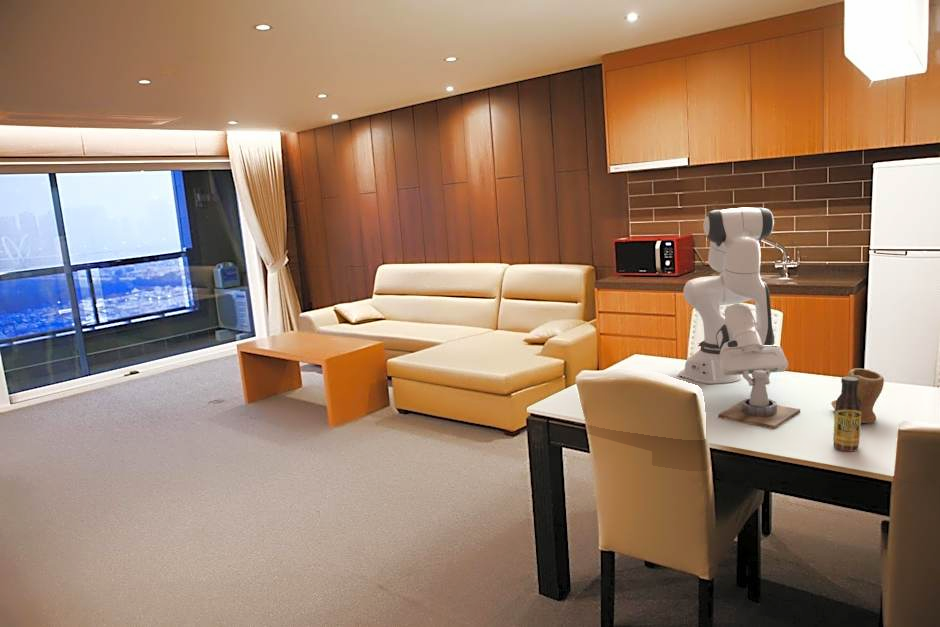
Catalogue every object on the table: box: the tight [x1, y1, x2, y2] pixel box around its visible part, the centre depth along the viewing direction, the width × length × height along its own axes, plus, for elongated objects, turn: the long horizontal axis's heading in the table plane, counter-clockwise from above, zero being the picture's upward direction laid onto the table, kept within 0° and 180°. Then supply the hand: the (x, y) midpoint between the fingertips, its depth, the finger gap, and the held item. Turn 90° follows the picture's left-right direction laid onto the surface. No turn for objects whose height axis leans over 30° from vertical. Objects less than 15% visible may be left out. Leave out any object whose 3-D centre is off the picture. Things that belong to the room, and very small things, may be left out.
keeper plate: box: [718, 400, 801, 430], centre depth 215 cm, size 18×18×1 cm
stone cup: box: [830, 367, 885, 424], centre depth 205 cm, size 15×12×15 cm
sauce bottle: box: [832, 376, 862, 452], centre depth 183 cm, size 7×6×20 cm
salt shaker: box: [749, 370, 769, 407], centre depth 213 cm, size 6×6×13 cm
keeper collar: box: [742, 397, 778, 417], centre depth 214 cm, size 10×10×3 cm
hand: (759, 384), depth 212 cm, fingers closed on salt shaker, 3 cm apart
